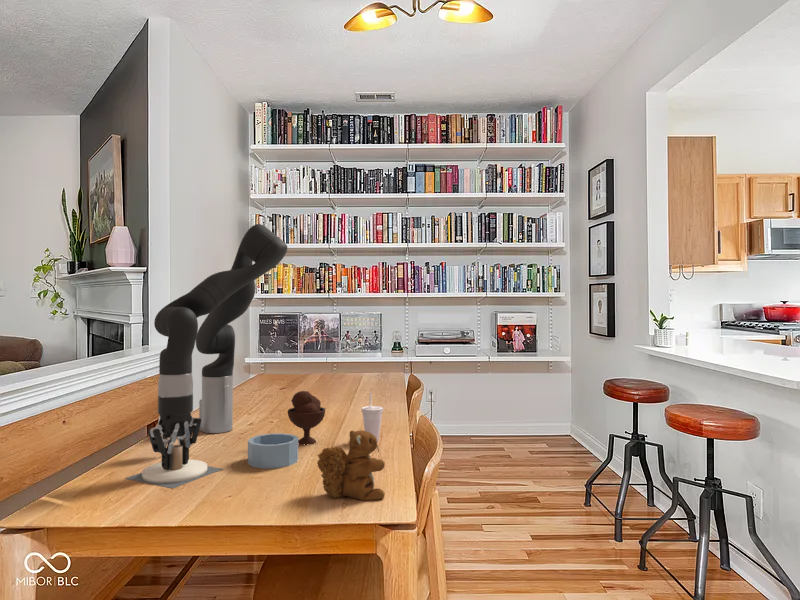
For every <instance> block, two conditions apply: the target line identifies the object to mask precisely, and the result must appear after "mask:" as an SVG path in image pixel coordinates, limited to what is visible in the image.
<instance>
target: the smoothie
mask: <svg viewBox="0 0 800 600" xmlns="http://www.w3.org/2000/svg"><path fill="white" fill-rule="evenodd" d="M361 412H362V418H363V420H362V421H363V428H364V431H367V432H369V433H371V434H373V435H374V436H375V437H376V438H377V443H379V441H380V432H381V425H382V415H383V412H384V407H382V406H379V405H372V392H369V405H367V406H363V407H361Z"/></svg>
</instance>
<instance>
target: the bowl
mask: <svg viewBox="0 0 800 600" xmlns="http://www.w3.org/2000/svg"><path fill="white" fill-rule="evenodd" d="M298 440H299V437H298V436H296V435H295V434H291V433H282V432H281V433H280V432H279V433H265V434H259V435H258V434H257V435H256V436H255V435H254V436H253V437H250V438H249V439H248V441H247V464H248V465H249V466H250V467H252V468H258V469H262V470H263V469H280V468H287V467H290V466H292V465H294V464H296V463H298V460H299V444H298Z"/></svg>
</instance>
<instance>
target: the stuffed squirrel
mask: <svg viewBox="0 0 800 600" xmlns="http://www.w3.org/2000/svg"><path fill="white" fill-rule="evenodd" d="M348 443H349V444H348V445H349V449H348V450H349V451H348V454H347V453H346V451H345V450H344V449H343V448H342V447H340V446H332V447H326V448H323V449H322V450H321V452H320V453H317V457H318V460H317V462H316V464H317V467H318V469H319V471H320V472H321V475H320V476H321V478H322V485H323V486H322V488H323V491H324V492H325V493H326V494H327V495H328V496H329V497H331V498H333V499H340V498H342V497H348V498H352V499H355V500H360V501H377V499H378V500H383V499H384V498H385V497H386V494H385V492H384V490H383V489H381V488H375V478H374V474H373V473H375V472H381V471H382V470H384V468H385V465H386V464H385V460H383V459H381V458H379V459H378V458H376V457H371V456H370V454H372V453H374V452H375V450H377V451H378V453H380V449H379V445H378V442H377V438H376V437H375V436H374V435H373V434H371V433H369V432H367V431H365V430H361V429H360V430H356V431H355V430H350V431H349V440H348Z"/></svg>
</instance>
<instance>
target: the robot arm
mask: <svg viewBox="0 0 800 600" xmlns="http://www.w3.org/2000/svg"><path fill="white" fill-rule="evenodd" d="M287 252H288V245H287V243H286V242H285V241H284V240H282V239H281V238H280V237H279V236H277V235H276V234H275V233H274V232H272V231H271V230H270V229H269V228H268V227H266V226H265V225H263V224H260V223H257V224H254V225H252V226H251V227H250V228H249V229H248V230H247V231H246V233H245V234H244V235H243V237H242V239H241V241H240V244H239V246H238V249H237V252H236V255H235V257H234V261H233V263H232V266H231V268H230V269H228V270H223V271H220V272H219V271H218V272H215V273H213V274H211V275H209V276H207V277H206V278H205V279H204V280H202V281H201V282H200V283H198V284H197V285H196V286H195V287H194V288H192V289H191V290H190V291H188V292H187V293H185V294H183V295H182V296H180V297H178V298H177V299H174V300H173V301H171V302H169V303H168V304H167V305H165V306H163V307H162V308H161V309H160V310H159V311H158V313H157V314H156V315H155V318H154V323H153V325H154V328H155V330H156V332H158V334H160V335H161V336H164V337H167V344H166V348H164V349H162V350H161V351H160V353H159V367H158V368H159V373H158V375H159V377H158V383H157V412H158V415H159V416H160V421H159V420H158V421H159V423H158V422H157V425H155V427H149V428H148V429H147V435H148V437H149V441H150V444H151V447H152V450H153V452H154V453H159V454H161V462H162V468H163V469H164V470H171V469H172V453H171V452H172V447H173V445H175V443H176V441H178V445H182V446H183V449H182V464H183V465H185V464H187V463H188V460H190V448H191V445H193V444H196V442H197V441H198V440H197V439H198V436H199V432H200V431H201V432H202V433H206V434H220V433H227V432H230V431H232V430H233V423H234V422H233V420H234V419H233V413H234V410H233V409H234V407H233V405H234V404H233V402H234V395H233V393H234V391H233V390H234V389H233V388H234V386H233V385H234V382H233V381H234V378H233V377H234V376H233V375H234V373H233V371H234V366H235V347H236V334H235V330H234V328H233V326H232V325H231V322H234V321H235V320H237V319H238V318H240V317H241V316H242V315H244V314H245V313H246V312H247V311H248V309H249V307H250V305H251V303H252V302H253V299H254V298H255V294H256V284H255V281H256V280H257V279H259V278H261V276H263V275H265V274H267V273H268V272H269V271H271V270H273V269H274V268H275V267H276V266H277V265H279V263H280V262H282V260H283V259H284V257H285V256H286V254H287ZM253 262H254V263H253ZM202 316H206V318H205V319H204V320H203V322H202V323H201V325H200V327H199V322H198V318H199V317H202ZM195 346H196V350H197V351H198V352H199V353H201V354H203V355H218V357H217V358H216V359H215V360H213V361H212V362H210V363H208V364H205V365H204V366H203V367H202V368H201V399H199V407H198V409H199V410H198V411H199V413H198V415H199V416H198V417H193V416H192V413H193V411H194V380H193V359H192V358H193V351H194V349H195ZM161 431H162V433H161ZM168 438H170V439H168Z"/></svg>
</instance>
